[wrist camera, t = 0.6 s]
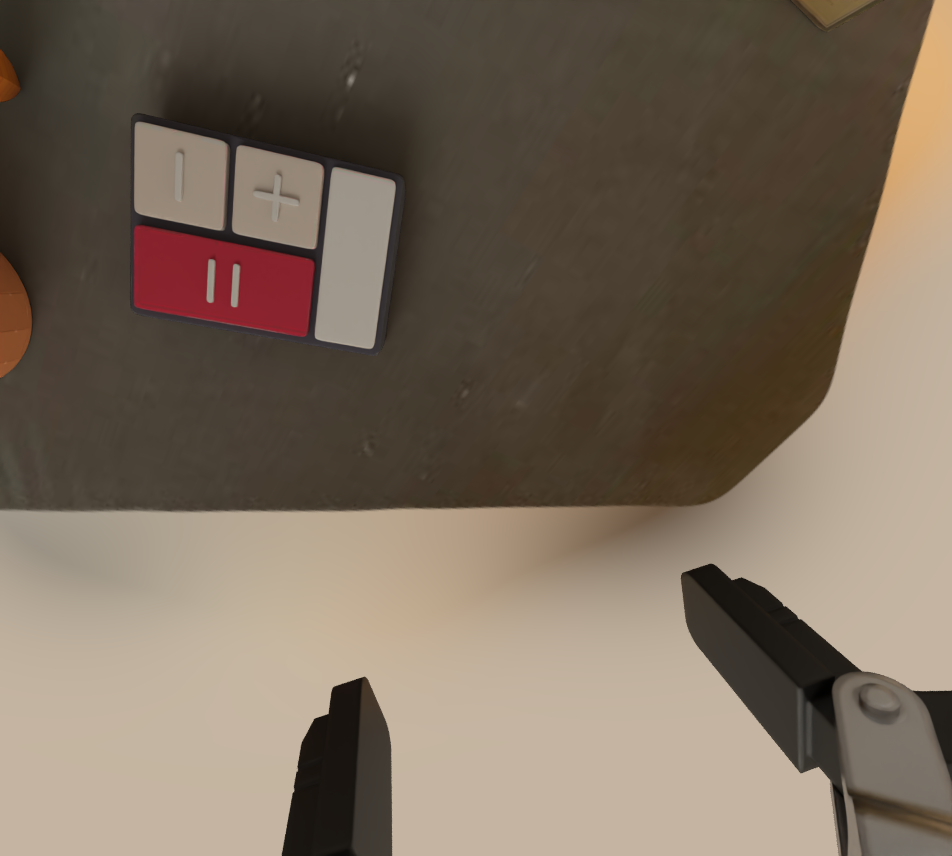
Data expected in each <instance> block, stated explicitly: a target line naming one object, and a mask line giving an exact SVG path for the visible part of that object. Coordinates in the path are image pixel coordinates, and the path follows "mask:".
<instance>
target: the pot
mask: <svg viewBox="0 0 952 856" xmlns="http://www.w3.org/2000/svg"><path fill="white" fill-rule="evenodd" d="M31 330H32V315H31V308H30V303H29V299H28V296H27V293H26V291H25V288H24V286H23V284H22V282H21V280H20V278H19V276H18V274H17V273H16V271H15V270H14V269H13V267H12V266H11V264H10V263H9V262H8V260H7V259H6V258H5V257H4V256H3V255H2V253H1V252H0V378H1V377H3V376H4V375H6V374H7V373H8V372H9V371H11V370H12V369H13V368H14V367H15V366H16V364H17V363H18V362H19V361H20V359H21V358H22V356H23V355H24V353H25V351H26V349H27V346H28V344H29V340H30V336H31Z"/></svg>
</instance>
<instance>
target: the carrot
mask: <svg viewBox="0 0 952 856" xmlns="http://www.w3.org/2000/svg"><path fill="white" fill-rule="evenodd" d="M20 90H21V88H20V84H19V80H18V78H17V76H16V73H15V71H14V69H13V66H12V64H11V63H10V62H9V60H8V59H7V57H6V56H5V54H4V53H3V52H2V50H1V49H0V102H4V101H8V100H10V99H12V98H14V97H15V96H16V95H17V94H18V93H19V91H20Z"/></svg>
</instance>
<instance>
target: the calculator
mask: <svg viewBox="0 0 952 856" xmlns="http://www.w3.org/2000/svg"><path fill="white" fill-rule="evenodd" d="M405 195H406V189H405V182H404V179H403V177H402V176H401V175H399V174H397V173H393V172H388V171H384V170H380V169H376V168H371V167H367V166H363V165H359V164H354V163H350V162H346V161H342V160H337V159H333V158H329V157H325V156H320V155H316V154H312V153H307V152H303V151H299V150H295V149H290V148H286V147H282V146H278V145H273V144H269V143H265V142H261V141H256V140H252V139H248V138H243V137H239V136H235V135H231V134H226V133H222V132H218V131H214V130H209V129H205V128H201V127H197V126H192V125H188V124H184V123H179V122H175V121H171V120H167V119H162V118H158V117H154V116H150V115H145V114H140V113H137V114H134V115H133V116H132V119H131V258H130V306H131V310H132V311H133V312H134V313H135V314H137V315H141V316H146V317H152V318H158V319H164V320H169V321H175V322H181V323H187V324H192V325H198V326H204V327H210V328H216V329H221V330H227V331H233V332H239V333H244V334H250V335H256V336H262V337H268V338H273V339H279V340H285V341H291V342H296V343H302V344H308V345H314V346H320V347H325V348H331V349H337V350H343V351H348V352H354V353H360V354H366V355H372V356H376V355H378V354H379V353H380V352H381V350H382V348H383V346H384V342H385V336H386V329H387V322H388V315H389V308H390V301H391V294H392V287H393V279H394V272H395V265H396V258H397V251H398V244H399V237H400V230H401V223H402V216H403V209H404V202H405Z"/></svg>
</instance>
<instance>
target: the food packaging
mask: <svg viewBox="0 0 952 856" xmlns="http://www.w3.org/2000/svg"><path fill="white" fill-rule="evenodd" d="M791 1H792V2H793V3H794V4H795V5H796V6H797V7H798V8H799V9H800V10H801V11H802V12H803V13H804V14H805V15H806V16H807V17H808V18H809V19H810V20H811V21H812V22H813V23H814V24H815V25H816V26H817V27H818V28H820V29H821V30H823V31H826V32H828V31H831V30H832V29H834V28H837V27H838V26H840V25H842V24H844V23H845V22H847V21H849V20H851V19H852V18H854V17H856V16H858V15H859V14H861V13H863V12H865V11H866V10H868V9H870V8H872V7H873V6H875V5H877V4H878V3H880V2H882V1H884V0H791Z"/></svg>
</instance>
